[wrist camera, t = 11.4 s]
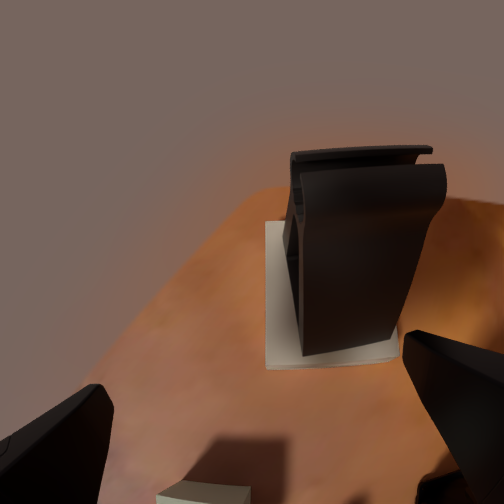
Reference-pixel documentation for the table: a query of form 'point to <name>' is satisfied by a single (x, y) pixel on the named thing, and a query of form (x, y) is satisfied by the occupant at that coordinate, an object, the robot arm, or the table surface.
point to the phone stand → (356, 239)
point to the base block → (285, 324)
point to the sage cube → (204, 494)
